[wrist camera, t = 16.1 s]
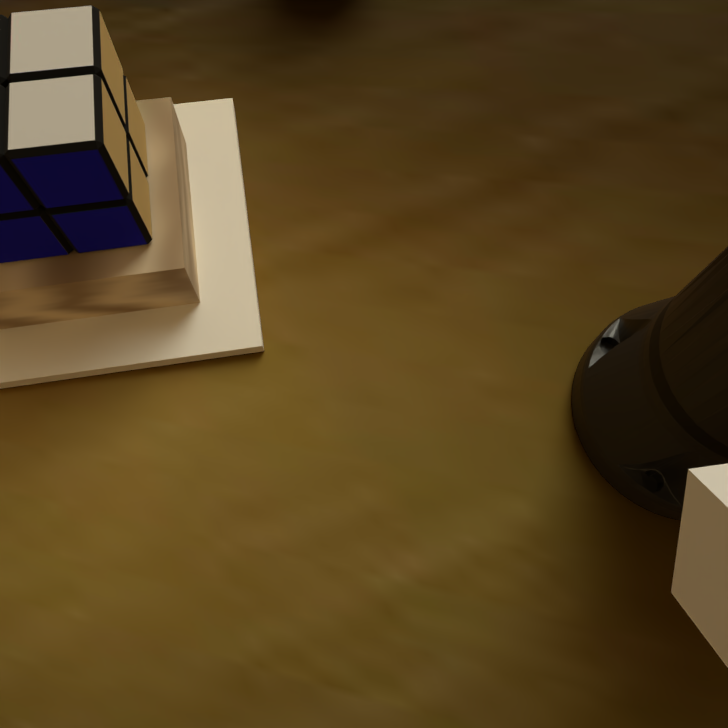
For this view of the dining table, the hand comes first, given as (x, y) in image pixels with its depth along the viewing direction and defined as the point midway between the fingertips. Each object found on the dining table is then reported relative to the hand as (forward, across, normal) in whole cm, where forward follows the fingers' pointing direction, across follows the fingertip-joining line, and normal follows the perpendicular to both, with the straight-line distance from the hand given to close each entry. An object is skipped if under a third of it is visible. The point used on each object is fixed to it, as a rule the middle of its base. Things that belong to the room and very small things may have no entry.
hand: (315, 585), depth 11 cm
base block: (+43, -14, -2) cm, 45 cm away
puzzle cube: (+39, -14, +2) cm, 41 cm away
